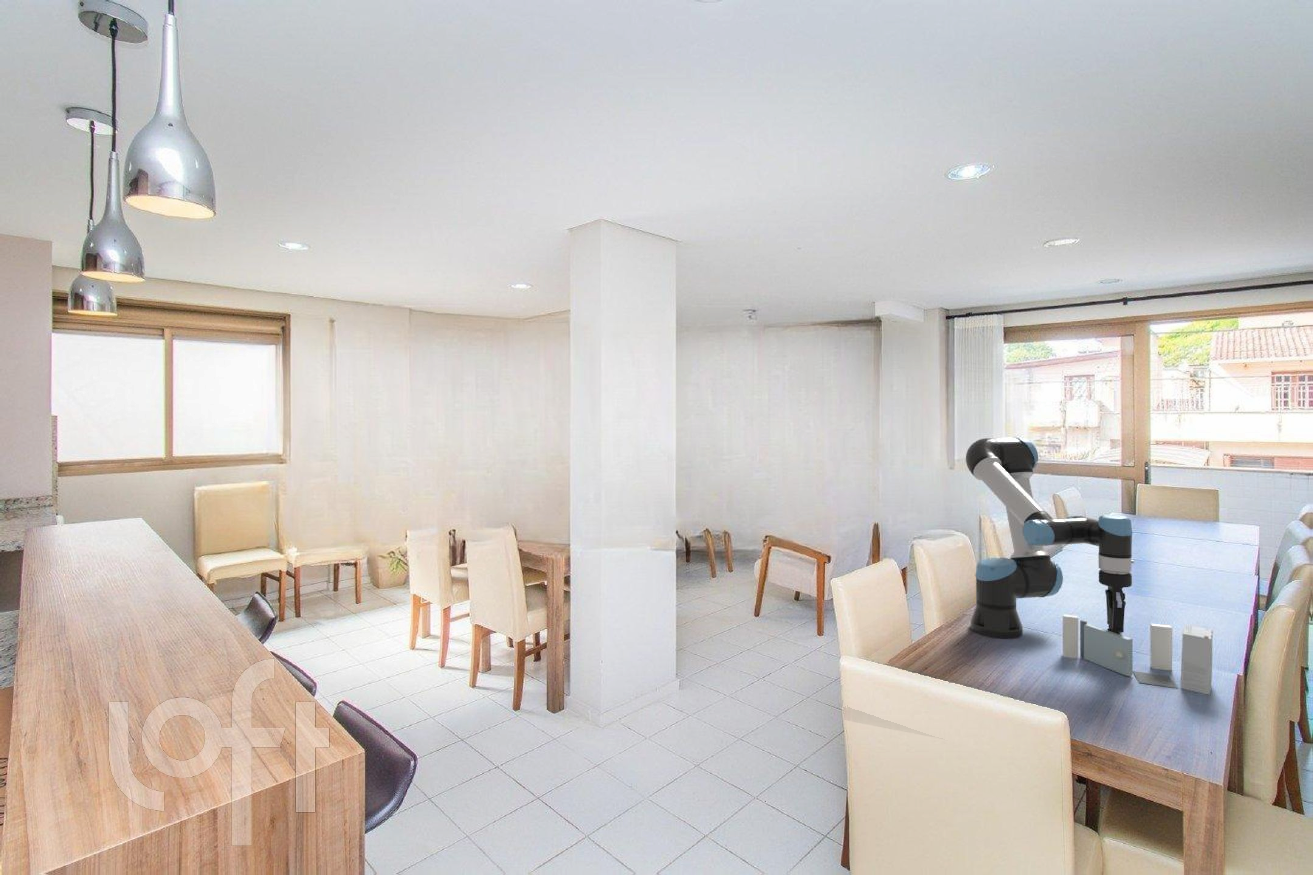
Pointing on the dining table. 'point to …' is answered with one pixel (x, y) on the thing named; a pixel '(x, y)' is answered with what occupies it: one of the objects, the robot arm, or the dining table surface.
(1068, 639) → the wall
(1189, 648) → the skincare box
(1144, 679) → the mat
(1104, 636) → the door
